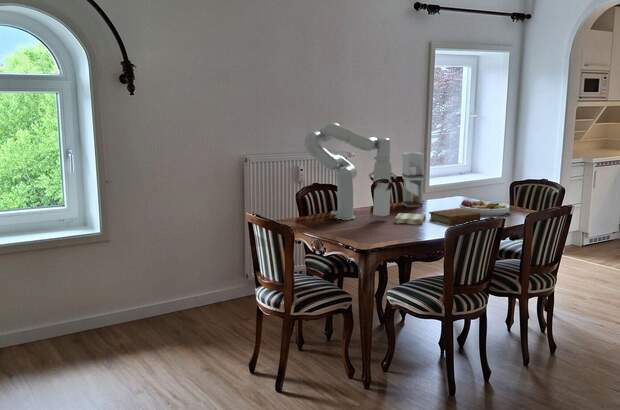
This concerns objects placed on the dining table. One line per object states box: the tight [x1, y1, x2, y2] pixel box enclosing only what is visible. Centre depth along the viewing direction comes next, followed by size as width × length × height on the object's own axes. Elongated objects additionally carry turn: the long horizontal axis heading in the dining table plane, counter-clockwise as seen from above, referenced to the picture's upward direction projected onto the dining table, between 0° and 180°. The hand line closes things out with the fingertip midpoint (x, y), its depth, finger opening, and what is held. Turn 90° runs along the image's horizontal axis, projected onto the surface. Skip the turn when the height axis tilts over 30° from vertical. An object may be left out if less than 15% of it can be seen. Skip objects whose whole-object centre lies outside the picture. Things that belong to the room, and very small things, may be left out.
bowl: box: [459, 199, 510, 217], centre depth 384 cm, size 30×30×8 cm
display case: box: [401, 152, 425, 208], centre depth 409 cm, size 11×11×35 cm
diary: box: [429, 207, 482, 227], centre depth 359 cm, size 23×19×6 cm
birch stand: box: [394, 212, 427, 225], centre depth 360 cm, size 16×16×3 cm
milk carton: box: [372, 182, 391, 217], centre depth 361 cm, size 7×7×19 cm
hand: (382, 188), depth 360 cm, fingers closed on milk carton, 8 cm apart
